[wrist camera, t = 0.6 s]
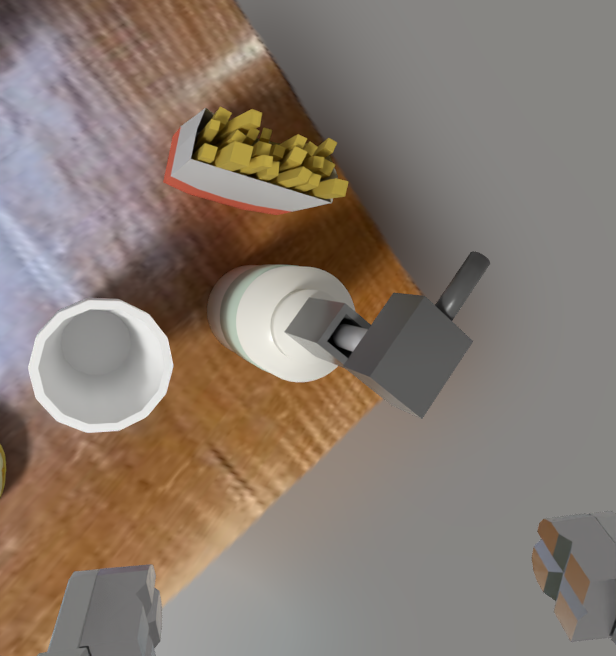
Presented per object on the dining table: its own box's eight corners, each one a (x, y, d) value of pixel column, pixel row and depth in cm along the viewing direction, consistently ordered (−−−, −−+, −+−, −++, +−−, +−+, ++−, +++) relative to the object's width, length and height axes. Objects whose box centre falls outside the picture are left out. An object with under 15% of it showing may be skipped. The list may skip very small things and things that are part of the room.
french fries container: (169, 137, 51) (215, 79, 35) (278, 172, 56) (364, 135, 39) (159, 186, 51) (200, 151, 35) (268, 217, 56) (350, 199, 39)
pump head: (300, 349, 36) (369, 376, 28) (377, 239, 37) (466, 234, 29) (343, 383, 38) (422, 419, 29) (416, 276, 39) (512, 281, 30)
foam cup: (89, 268, 50) (95, 271, 38) (170, 333, 53) (198, 354, 41) (15, 351, 48) (-4, 381, 36) (103, 412, 52) (112, 458, 40)
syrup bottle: (186, 320, 54) (253, 354, 34) (243, 245, 55) (338, 236, 35) (259, 372, 57) (357, 432, 38) (310, 300, 59) (431, 321, 39)
